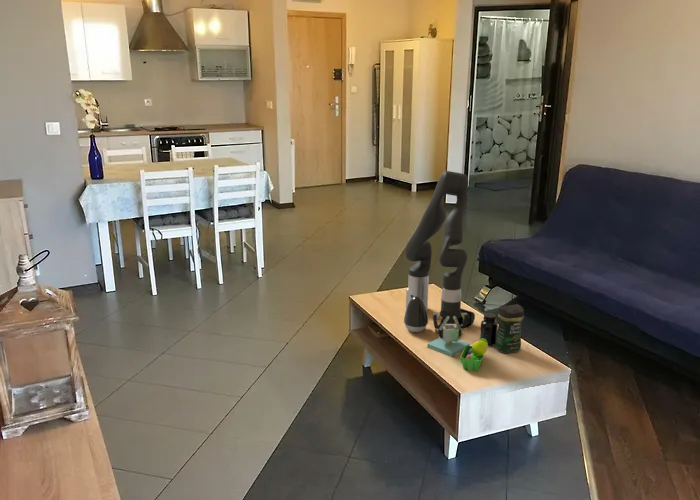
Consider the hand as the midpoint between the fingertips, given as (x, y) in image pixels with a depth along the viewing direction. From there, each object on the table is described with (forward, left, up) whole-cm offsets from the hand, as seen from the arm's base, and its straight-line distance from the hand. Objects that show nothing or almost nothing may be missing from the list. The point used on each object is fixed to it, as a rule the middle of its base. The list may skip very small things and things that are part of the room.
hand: (449, 337), depth 232 cm
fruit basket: (+16, -6, -4) cm, 18 cm away
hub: (0, 0, -4) cm, 4 cm away
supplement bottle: (+9, +15, -4) cm, 18 cm away
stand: (-8, +11, -4) cm, 14 cm away
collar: (0, 0, 0) cm, 0 cm away
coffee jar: (+18, +15, -4) cm, 24 cm away
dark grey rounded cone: (-20, +4, -4) cm, 21 cm away
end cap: (-10, +23, -4) cm, 25 cm away
